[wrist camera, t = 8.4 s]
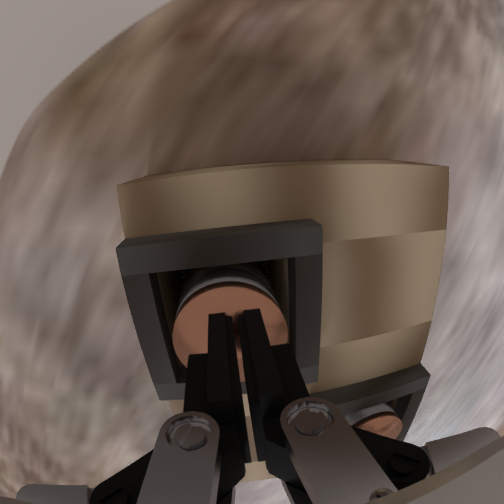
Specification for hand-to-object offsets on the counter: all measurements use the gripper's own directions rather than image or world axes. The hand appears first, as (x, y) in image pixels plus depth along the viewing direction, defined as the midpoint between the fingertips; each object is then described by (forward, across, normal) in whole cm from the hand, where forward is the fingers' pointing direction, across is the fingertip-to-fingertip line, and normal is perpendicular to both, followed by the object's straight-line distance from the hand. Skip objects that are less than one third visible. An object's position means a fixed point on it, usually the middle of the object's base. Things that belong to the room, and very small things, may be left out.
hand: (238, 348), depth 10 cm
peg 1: (+7, 0, 0) cm, 7 cm away
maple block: (+7, -3, +4) cm, 9 cm away
